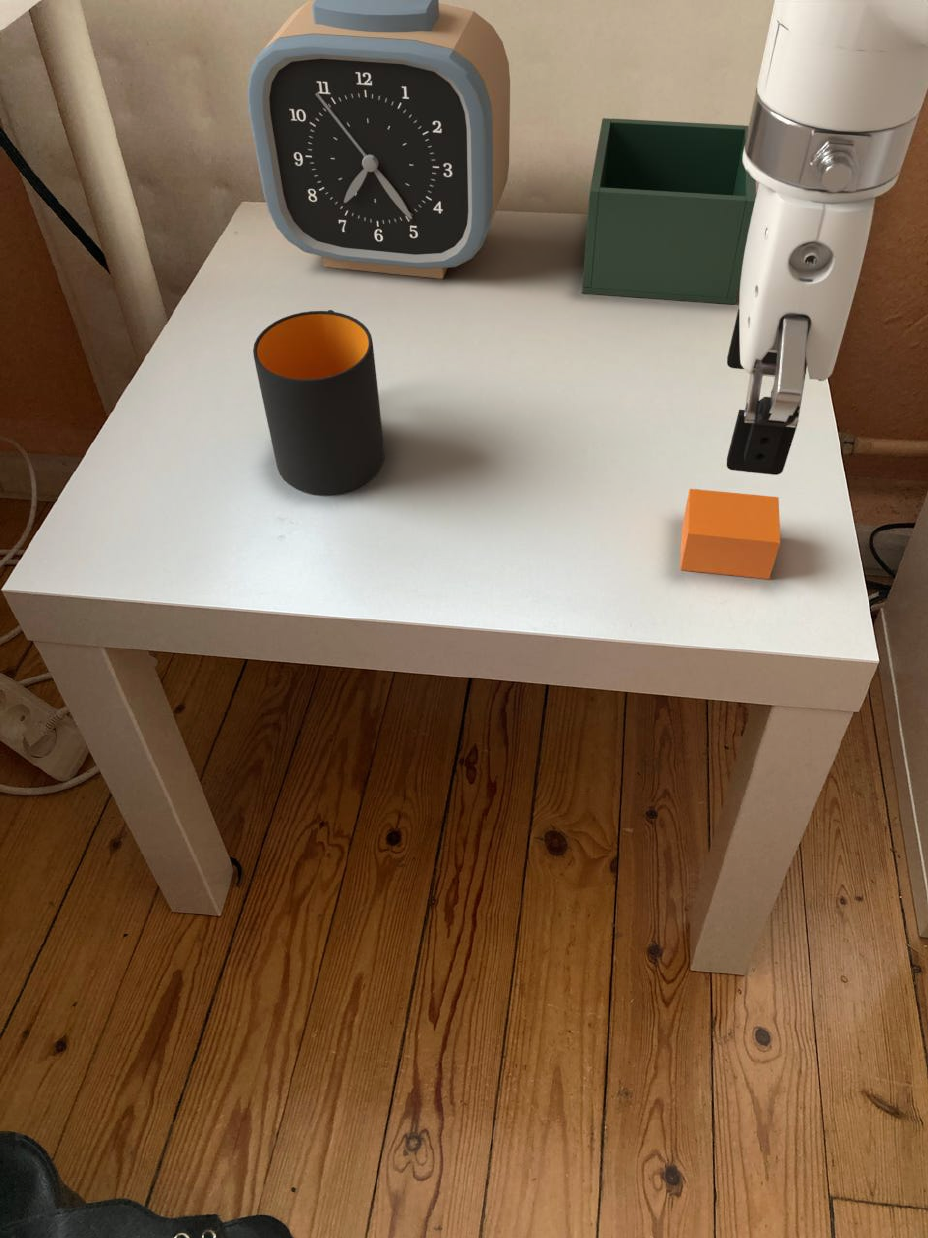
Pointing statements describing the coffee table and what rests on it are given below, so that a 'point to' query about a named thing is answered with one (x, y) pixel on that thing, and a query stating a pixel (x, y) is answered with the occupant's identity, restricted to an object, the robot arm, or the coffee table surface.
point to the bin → (668, 211)
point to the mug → (321, 400)
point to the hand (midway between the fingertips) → (752, 415)
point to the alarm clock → (383, 132)
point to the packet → (730, 533)
